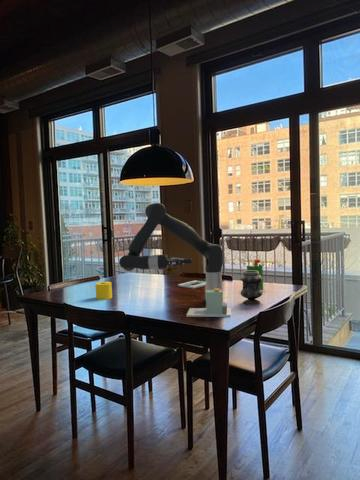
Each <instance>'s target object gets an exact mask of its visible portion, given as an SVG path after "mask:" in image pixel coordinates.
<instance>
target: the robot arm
mask: <svg viewBox="0 0 360 480" xmlns="http://www.w3.org/2000/svg"><path fill="white" fill-rule="evenodd" d="M144 210H145V211H144V212H145V216H146V217H147V219H146V221H145V223H144V225H143V226H142V227H141V229H140V230H138V232H137V233H136V234H135V235H134V237H133V239H132V241H131V243H130V244H129V246H128V253H127V254H126V255H122V256H121V257H120V258H119V260H118V261H119V262H118V263H119V266H120V267H121V268H122V269H124V270H125V271H127V272H131V271H134V269H139V270H153V271H154V270H167V269H169V266H171V267H174V266H182V265H185V264H192V263H193V258H184V257H170V258H169V255H168V254H152V255H141V253H142V252H143V250H144V248H145V247H146V244H147V243H148V242H149V241H148V240H149V239H150V237H151V236H152V234H153V232H154V231H155V230H156V229H157V227H158V226H159V225H160V226H161V227H163V228H164V229H165V230H167V231H168V232H169V233H171V234H172V235H173V236H175V237H176V238H178V239H179V240H180V241H182V242H184V243H185V244H187V245H188V246H190V247H192V248H193V249H195V250H196V251H197V252H198V253H199V254H201V255H202V256H203V258H205V259H207V260H208V263H207V265H206V266H205V281H206V284H205V286H204V290H205V291H204V292H205V293H204V295H205V298H206V291H207V290H215V288H220V290H222V291H223V281H222V280H223V279H222V269H223V266H224V265H223V261H224V260H223V258H224V255H223V254H224V253H223V252H224V251H223V248H222V247H221V245H219V244H214V243H210V242H208V241H207V240H205V239H203V237H201V236H200V235H199V234H198V232H197V231H196V230H195V229H194V228H193V227H191V226H190V225H189V224H188V223H186V222H184V221H181V220H180V219H178V218H175V217H173V216H171V215H169V214H168V213H167V209H166V206H165V205H164V204H162V203H160V202H155V203H150V204H148V205H147V206H146V207H145V209H144Z"/></svg>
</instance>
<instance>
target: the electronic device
mask: <svg viewBox="0 0 360 480" xmlns="http://www.w3.org/2000/svg"><path fill="white" fill-rule="evenodd" d="M205 284H206V280H205V281H203V280H191V281H187V282H183V283H179V284H178V283H177V286H178V287H182V288H187V289H197V288H201V287H205Z"/></svg>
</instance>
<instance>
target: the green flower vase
mask: <svg viewBox="0 0 360 480" xmlns="http://www.w3.org/2000/svg"><path fill="white" fill-rule="evenodd" d="M259 263H260V259H259V258H256V259H254V262H253V265H246V270H255V271H259V275H260V276H261V277H262V280H261V281H260V290H261V291H263V290H264V272H263V271H264V269H263V264H259Z"/></svg>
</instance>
